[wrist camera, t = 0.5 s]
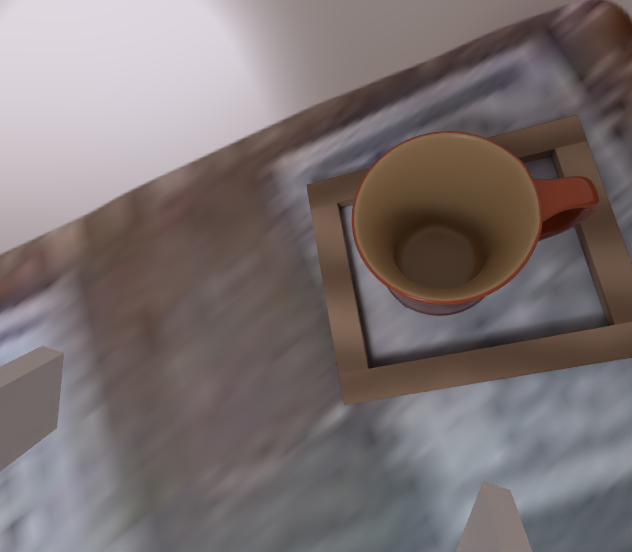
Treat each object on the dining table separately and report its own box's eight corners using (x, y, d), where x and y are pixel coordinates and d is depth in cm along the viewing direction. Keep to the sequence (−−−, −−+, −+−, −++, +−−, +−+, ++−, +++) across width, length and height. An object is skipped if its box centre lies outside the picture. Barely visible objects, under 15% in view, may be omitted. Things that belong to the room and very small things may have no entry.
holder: (655, 353, 27) (663, 352, 26) (346, 404, 31) (344, 404, 30) (573, 122, 32) (577, 114, 31) (309, 190, 35) (306, 184, 34)
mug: (386, 340, 31) (368, 319, 21) (363, 222, 34) (338, 155, 24) (573, 307, 29) (648, 268, 19) (536, 183, 31) (586, 92, 22)
